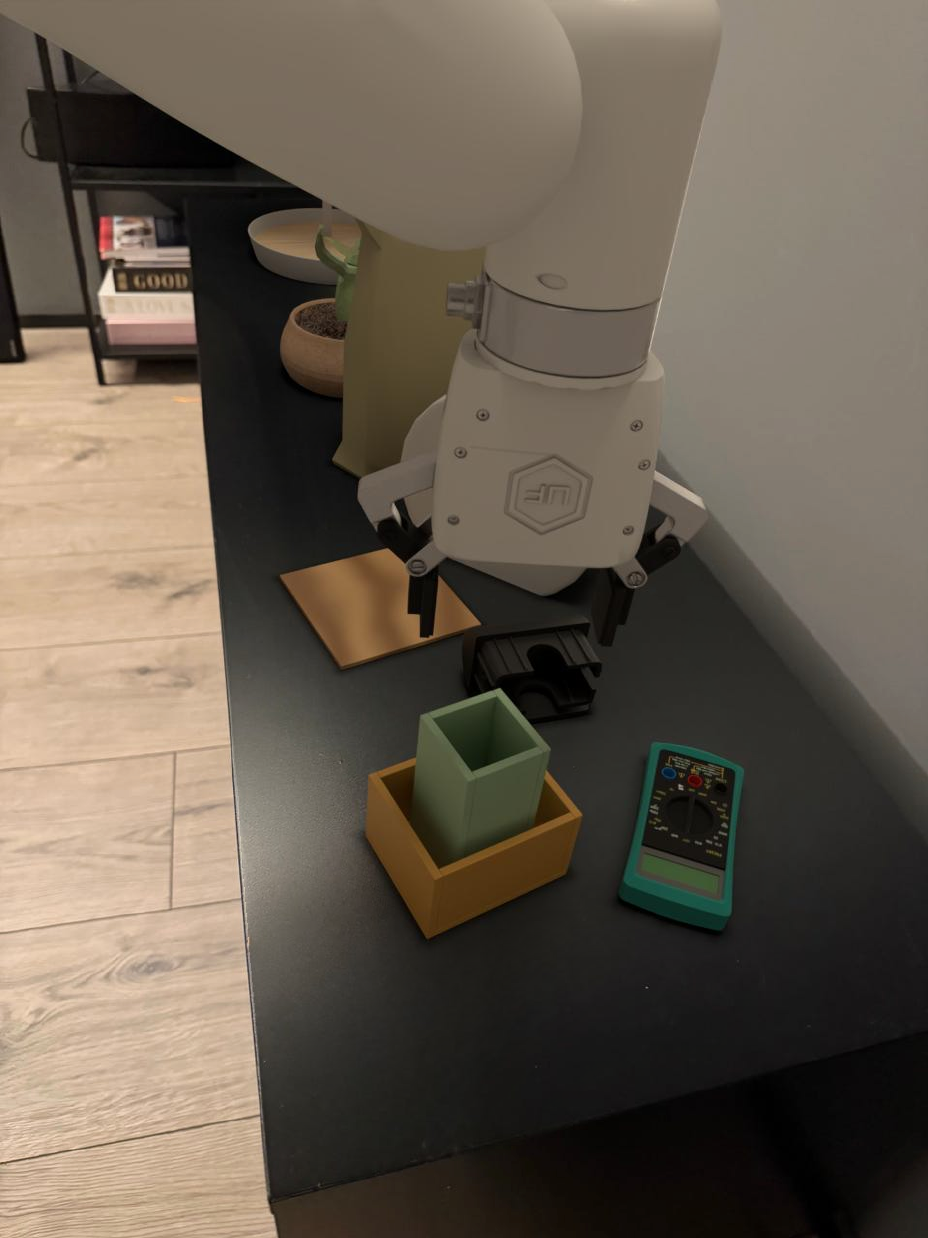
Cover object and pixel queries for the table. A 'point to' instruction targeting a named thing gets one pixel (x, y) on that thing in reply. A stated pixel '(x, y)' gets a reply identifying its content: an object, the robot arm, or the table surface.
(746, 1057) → the table surface
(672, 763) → the digital multimeter
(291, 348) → the potted plant
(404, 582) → the cork mat
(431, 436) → the alarm clock
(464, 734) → the sage tub
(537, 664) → the end cap
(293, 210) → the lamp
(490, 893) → the ochre bin
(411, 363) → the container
